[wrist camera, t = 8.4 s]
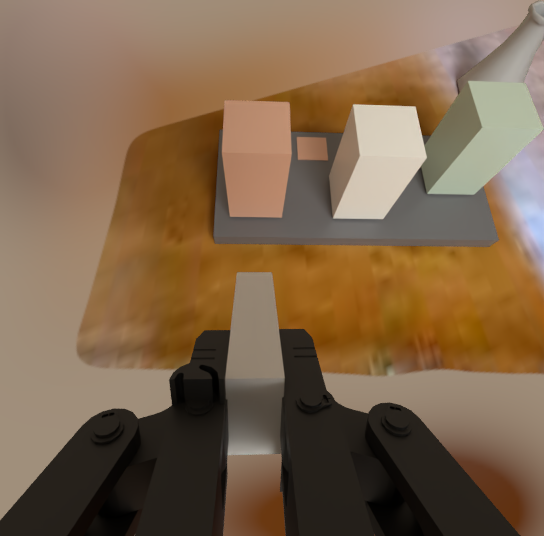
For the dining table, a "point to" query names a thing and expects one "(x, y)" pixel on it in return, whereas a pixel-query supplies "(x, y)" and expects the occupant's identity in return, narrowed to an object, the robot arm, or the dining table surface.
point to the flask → (511, 52)
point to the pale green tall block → (479, 136)
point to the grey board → (333, 231)
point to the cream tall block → (375, 160)
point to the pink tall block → (256, 156)
